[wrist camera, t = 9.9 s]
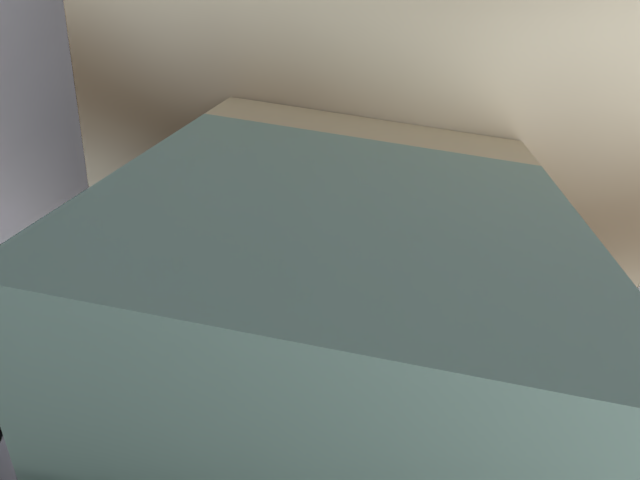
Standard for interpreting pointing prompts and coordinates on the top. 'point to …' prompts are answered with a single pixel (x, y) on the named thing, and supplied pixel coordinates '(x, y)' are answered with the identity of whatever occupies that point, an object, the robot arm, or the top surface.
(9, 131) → the top surface
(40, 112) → the top surface
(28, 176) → the top surface
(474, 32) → the board
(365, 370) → the block
